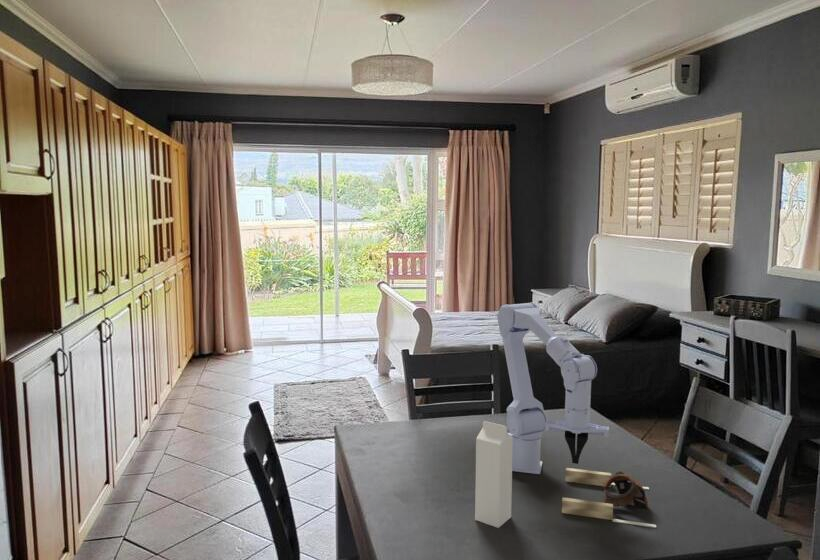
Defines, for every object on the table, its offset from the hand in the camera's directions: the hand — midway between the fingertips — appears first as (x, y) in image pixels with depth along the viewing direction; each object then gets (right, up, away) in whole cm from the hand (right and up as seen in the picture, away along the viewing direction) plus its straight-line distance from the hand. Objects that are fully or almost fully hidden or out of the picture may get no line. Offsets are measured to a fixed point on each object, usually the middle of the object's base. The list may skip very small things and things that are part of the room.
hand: (575, 461), depth 146 cm
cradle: (+3, -9, 0) cm, 9 cm away
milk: (-21, -10, -10) cm, 25 cm away
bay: (+13, -9, -3) cm, 16 cm away
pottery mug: (+11, -9, -3) cm, 15 cm away
